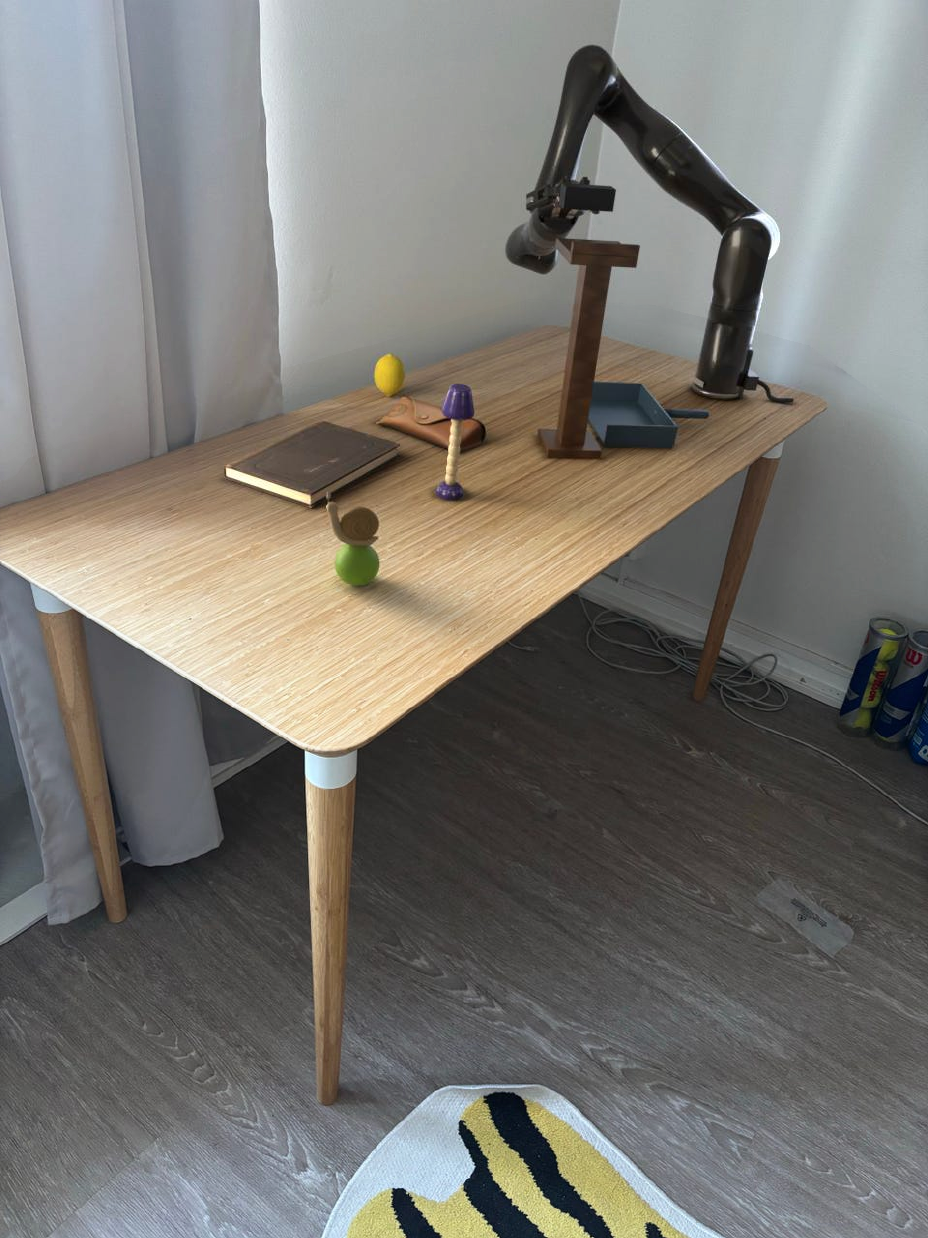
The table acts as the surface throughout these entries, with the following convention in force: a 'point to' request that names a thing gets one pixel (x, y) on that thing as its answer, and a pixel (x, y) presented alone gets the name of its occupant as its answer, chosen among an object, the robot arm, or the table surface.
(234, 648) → the table surface
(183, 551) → the table surface
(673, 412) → the scoop
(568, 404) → the stand
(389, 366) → the lemon
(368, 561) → the snail figurine
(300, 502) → the hardcover book
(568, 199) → the t-shaped mallet
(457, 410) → the toy lamp
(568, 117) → the robot arm
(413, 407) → the sunglasses case
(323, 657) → the table surface
